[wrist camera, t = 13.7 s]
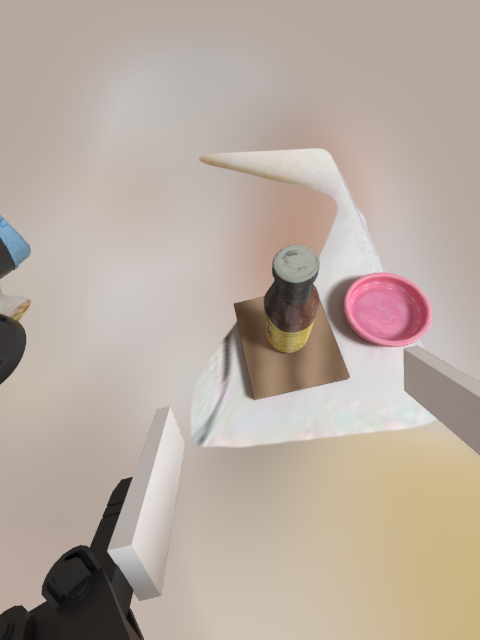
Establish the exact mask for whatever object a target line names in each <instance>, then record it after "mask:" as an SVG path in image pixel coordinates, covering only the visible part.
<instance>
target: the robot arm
mask: <svg viewBox="0 0 480 640" xmlns="http://www.w3.org/2000/svg"><path fill="white" fill-rule="evenodd" d="M30 251H31V249H30V246H29V244H28V243H27V242H26V241H25V240H24V239H23V237H22V236H21V235H20V234H19V233H18V232H17V231H16V230H15V229H14V228H13V227H12V226H11V225H10V224H9V223H8V222H7V221H5V220H4V218H3V217H2V216H1V215H0V279H1V278H3V277H4V276H5V275H7V274H8V273H10V272H11V271H12V270H15V269H17V267H18V265H19V264H20V263H22V262H23V261H24V260H25V259H26V258H27V257H28V256H29V255H30ZM25 346H26V334H25V330H24V328H23V326H22V325H21V324H20V323H19V322H18V321H16V320H14V319H12V318H10V317H8V316H6V315H3V314H0V384H1V383H2V382H4V381H5V380H6V379H7V378H8V377H9V376H10V375H11V374H12V372H13V371H14V370H15V368H16V367H17V365H18V364H19V362H20V360H21V358H22V356H23V353H24V350H25ZM404 391H406V392H407V393H408V394H409V395H410V396H411V397H413V398H414V399H415V400H416V401H417V402H418V403H420V404H421V405H422V406H423V407H424V408H425V409H426V410H428V411H429V412H430V413H431V414H432V415H433V416H435V417H436V418H437V419H438V420H439V421H440V422H442V423H443V424H444V425H445V426H446V427H448V428H449V429H450V430H451V431H452V432H453V433H455V434H456V435H457V436H458V437H459V438H461V439H462V440H463V441H464V442H465V443H466V444H467V445H468V446H470V447H471V448H472V449H473V450H474V451H476V452H477V453H478V454H479V455H480V381H478V380H476V379H475V378H473V377H471V376H469V375H468V374H466V373H464V372H462V371H460V370H459V369H457V368H455V367H454V366H452V365H450V364H448V363H447V362H445V361H443V360H442V359H440V358H438V357H436V356H435V355H433V354H431V353H429V352H428V351H426V350H424V349H423V348H421V347H419V346H413V347H409V348H405V349H404ZM184 448H185V443H184V440H183V438H182V435H181V433H180V430H179V428H178V425H177V423H176V420H175V418H174V415H173V412H172V410H171V407H170V406H169V407H165V408H161V409H157V410H156V413H155V415H154V418H153V421H152V424H151V427H150V430H149V433H148V435H147V439H146V441H145V444H144V447H143V450H142V453H141V456H140V458H139V461H138V464H137V467H136V470H135V473H134V475H133V477H131V478H127V479H123V480H121V481H120V483H119V484H118V485H117V487H116V488H115V489H114V491H113V492H112V495H111V497H110V500H109V502H108V504H107V508H106V509H105V512H104V514H103V519H101V521H100V524H99V526H98V529H97V531H96V534H95V536H94V538H93V541H92V543H91V546H90V548H89V547H87V546H82V545H80V546H77V547H74V548H72V549H71V550H69V551H68V552H66V553H65V554H63V555H62V556H61V557H60V559H59V560H58V561H57V562H56V563H55V564H54V565H53V567H52V568H51V569H50V571H49V573H48V574H47V576H46V578H45V581H44V583H43V586H42V596H43V597H44V598H45V599H46V600H47V601H46V602H44V603H43V604H41V605H39V606H38V607H36V608H34V609H33V610H31V611H29V612H28V611H27V610H26V609H25V608H24V607H23V606H22V605H21V606H14V607H12V608H10V609H8V610H6V611H4V612H3V613H2V614H1V615H0V640H144V638H143V636H142V634H141V631H140V629H139V627H138V624H137V622H136V619H135V617H134V615H133V612H132V610H131V609H130V603H131V599H132V595H133V592H134V593H135V595H136V597H137V598H138V600H139V601H141V600H145V599H149V598H154V597H158V596H161V593H162V587H163V580H164V574H165V567H166V561H167V555H168V548H169V542H170V536H171V530H172V523H173V517H174V511H175V505H176V499H177V492H178V486H179V480H180V473H181V467H182V461H183V455H184Z"/></svg>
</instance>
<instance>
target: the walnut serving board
mask: <svg viewBox="0 0 480 640" xmlns="http://www.w3.org/2000/svg"><path fill="white" fill-rule="evenodd" d="M264 297H265V296H264ZM264 297H261V298H256V299H252V300H247V301H243V302H239V303H234V307H235V312H236V317H237V321H238V326H239V331H240V335H241V340H242V344H243V349H244V354H245V358H246V363H247V367H248V372H249V377H250V381H251V386H252V390H253V395H254V399H255V400H257V399H262V398H266V397H271V396H275V395H280V394H284V393H288V392H293V391H297V390H302V389H306V388H311V387H315V386H319V385H324V384H328V383H333V382H337V381H342V380H346V379H348V378H349V377H350V375H349V373H348V370H347V368H346V365H345V363H344V360H343V357H342V355H341V352H340V350H339V347H338V345H337V342H336V340H335V337H334V334H333V332H332V329H331V327H330V324H329V322H328V319H327V316H326V314H325V311H324V309H323V306H322V304H321V301H320V299H319V306H318V310H317V313H316V318H315V321H314V323H313V326H312V329H311V332H310V334H309V337H308V340H307V342H306V344H305V345H304V346H303V347H302V348H301V350H299V351H297V352H294V353H289V354H288V353H281V352H279V351H277V350H276V349H275V348H274V347H273V346H272V345H271V344H270V342H269V340H268V338H267V331H266V321H265V312H264Z"/></svg>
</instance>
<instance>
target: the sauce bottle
mask: <svg viewBox="0 0 480 640" xmlns="http://www.w3.org/2000/svg"><path fill="white" fill-rule="evenodd" d="M318 271H319V258H318V256H317V254H316V253H314V251H313V250H312V249H310V248H309V247H306V246H303V245H289V246H287V247H285V248H283V249H281V250H280V251H279V252H278V253H277V254H276V255H275V257H274V259H273V267H272V273H273V277H274V280H275V281H274V283H273V284H272V286H271V287H270V288H269V290H268V291H267V293H266V295H265V297H264V312H265V321H266V331H267V338H268V340H269V342H270V344H271V345H272V346H273V347H274V348H275V349H276V350H277V351H279V352H281V353H288V354H289V353H294V352H297V351H299V350H301V348H302V347H303V346H304V345H305V344H306V342H307V340H308V337H309V334H310V332H311V329H312V326H313V323H314V321H315V318H316V313H317V310H318V306H319V295H318V291H317V289H316V287H315V286H314V284H313V282H314V281H315V279H316V278H317V275H318Z"/></svg>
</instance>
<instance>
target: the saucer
mask: <svg viewBox="0 0 480 640" xmlns="http://www.w3.org/2000/svg"><path fill="white" fill-rule="evenodd" d="M343 309H344V314H345V317H346V320H347V322H348V323H349V325H350V326H351V328H352V329H353V330H354V331H355V332H356V333H357V334H358V335H359V336H361V337H362V338H364V339H365V340H367V341H369V342H371V343H374V344H377V345H380V346H386V347H400V346H405V345H408V344H411V343H413V342H415V341H417V340H418V339H420V338H421V337H422V336H423V335H424V334H425V333H426V332H427V330H428V329H429V327H430V325H431V322H432V308H431V305H430V302H429V300H428V298H427V296H426V295H425V293H424V292H423V291H422V290H421V289H420V288H419V287H418V286H417V285H416V284H414V283H413V282H411V281H410V280H408V279H406V278H404V277H401V276H399V275H395V274H391V273H372V274H368V275H365V276H363V277H361V278H359V279H357V280H356V281H355V282H354V283H353V284H352V285H351V286H350V287H349V288H348V290H347V292H346V294H345V297H344V302H343Z"/></svg>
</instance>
